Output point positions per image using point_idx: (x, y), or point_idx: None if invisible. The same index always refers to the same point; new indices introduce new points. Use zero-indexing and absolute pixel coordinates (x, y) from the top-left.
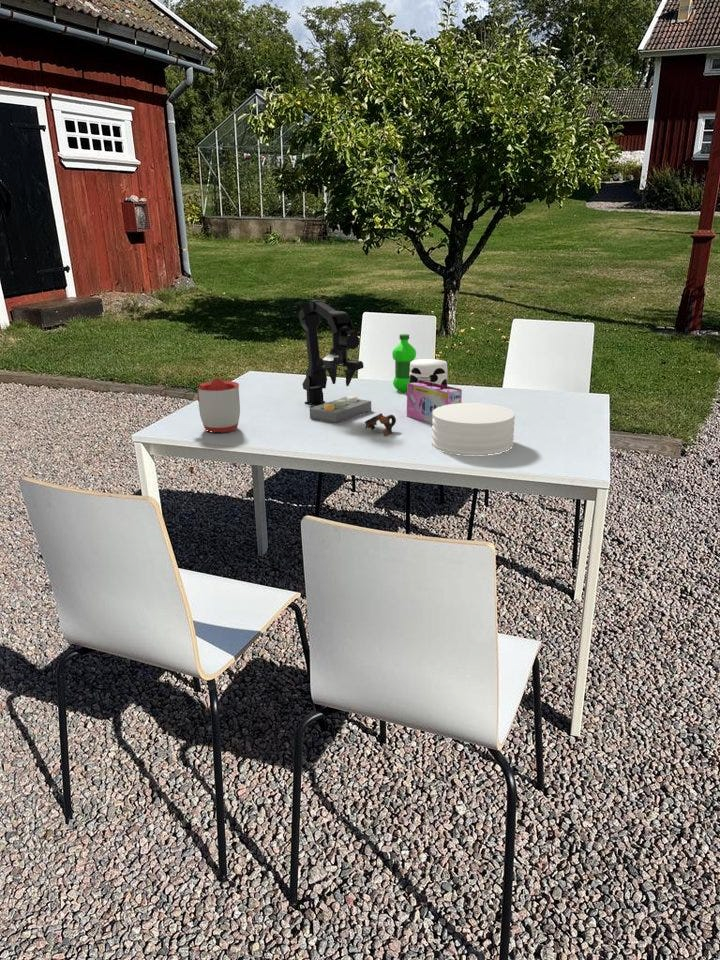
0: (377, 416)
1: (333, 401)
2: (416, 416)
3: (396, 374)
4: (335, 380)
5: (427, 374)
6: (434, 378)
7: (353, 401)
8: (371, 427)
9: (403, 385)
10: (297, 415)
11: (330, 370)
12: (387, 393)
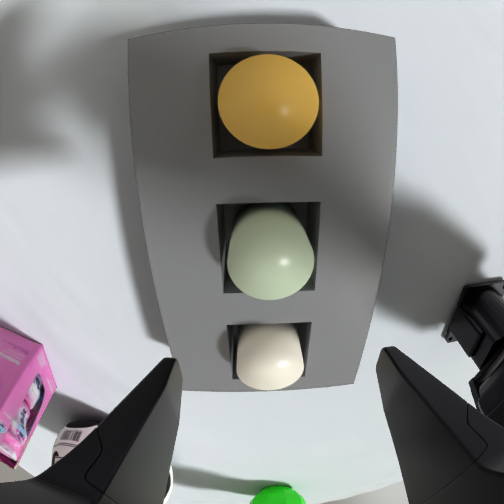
0: None
1: (368, 288)
2: (1, 333)
3: None
4: (384, 401)
5: None
6: None
7: (243, 343)
8: None
9: (263, 500)
10: (456, 82)
11: (491, 479)
12: (299, 473)
